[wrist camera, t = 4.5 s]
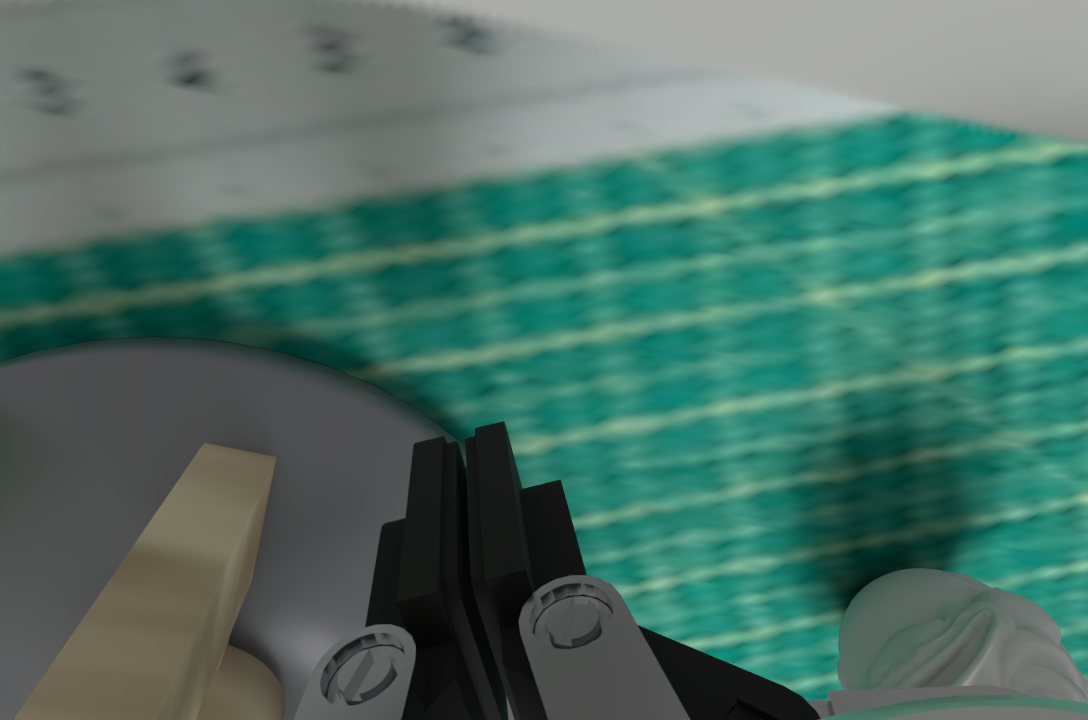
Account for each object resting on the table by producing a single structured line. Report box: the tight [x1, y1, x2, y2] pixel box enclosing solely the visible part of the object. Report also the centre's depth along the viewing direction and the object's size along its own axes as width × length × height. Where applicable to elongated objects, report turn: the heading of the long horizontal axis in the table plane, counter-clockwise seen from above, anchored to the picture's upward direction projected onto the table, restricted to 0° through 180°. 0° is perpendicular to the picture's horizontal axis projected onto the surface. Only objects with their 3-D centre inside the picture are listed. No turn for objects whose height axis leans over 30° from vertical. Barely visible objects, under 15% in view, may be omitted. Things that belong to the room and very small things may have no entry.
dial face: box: [0, 337, 514, 720], centre depth 17 cm, size 19×19×2 cm
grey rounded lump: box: [837, 568, 1088, 703], centre depth 17 cm, size 6×7×7 cm
